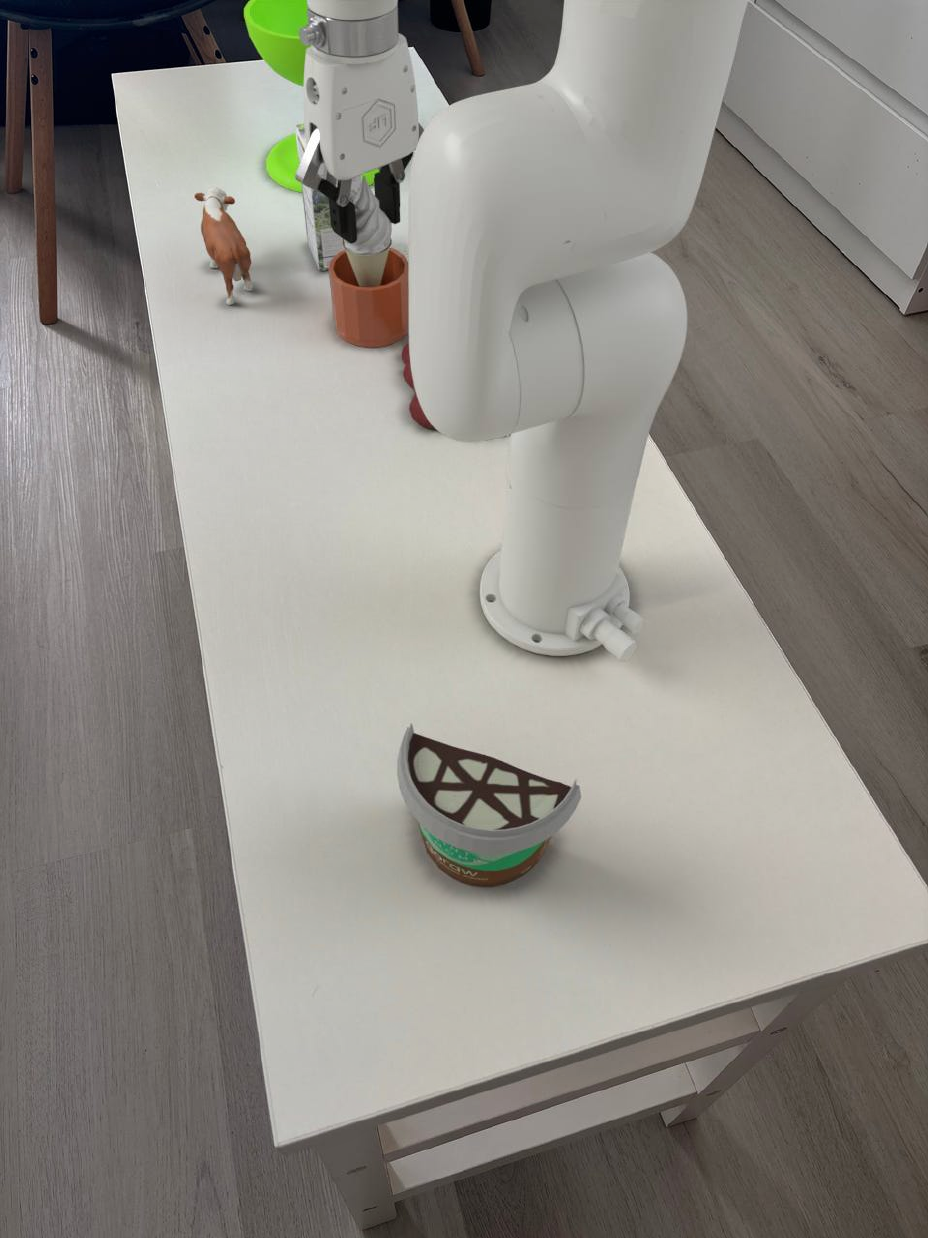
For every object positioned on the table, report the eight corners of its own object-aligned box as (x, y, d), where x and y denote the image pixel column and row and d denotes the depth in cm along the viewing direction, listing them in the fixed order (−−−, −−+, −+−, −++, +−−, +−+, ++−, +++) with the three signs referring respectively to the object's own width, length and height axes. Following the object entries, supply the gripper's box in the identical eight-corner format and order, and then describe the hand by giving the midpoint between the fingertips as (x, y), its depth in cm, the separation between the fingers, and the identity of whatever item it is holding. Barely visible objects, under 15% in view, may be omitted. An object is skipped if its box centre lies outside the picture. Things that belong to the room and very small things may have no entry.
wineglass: (353, 122, 134) (343, -27, 120) (411, 174, 126) (408, 20, 111) (245, 150, 128) (221, -2, 114) (299, 207, 120) (279, 50, 106)
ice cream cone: (388, 328, 103) (382, 191, 91) (342, 321, 103) (329, 184, 92) (400, 300, 106) (395, 164, 94) (354, 294, 106) (344, 158, 95)
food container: (372, 867, 68) (363, 799, 60) (407, 792, 72) (403, 720, 64) (541, 930, 65) (555, 868, 58) (568, 850, 69) (584, 782, 61)
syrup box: (354, 238, 116) (345, 114, 105) (367, 265, 113) (359, 140, 101) (307, 246, 115) (293, 121, 104) (319, 273, 112) (305, 147, 100)
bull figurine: (240, 243, 115) (228, 175, 109) (261, 308, 107) (250, 239, 101) (202, 248, 114) (188, 181, 108) (222, 314, 107) (208, 246, 100)
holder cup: (426, 327, 106) (425, 269, 100) (366, 357, 102) (362, 299, 97) (378, 293, 110) (375, 235, 104) (319, 321, 106) (313, 263, 101)
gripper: (297, 70, 77) (320, 275, 92) (458, 15, 84) (455, 213, 99) (244, 38, 81) (274, 241, 95) (403, -12, 88) (408, 184, 102)
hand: (366, 225), depth 97 cm, fingers closed on ice cream cone, 4 cm apart
